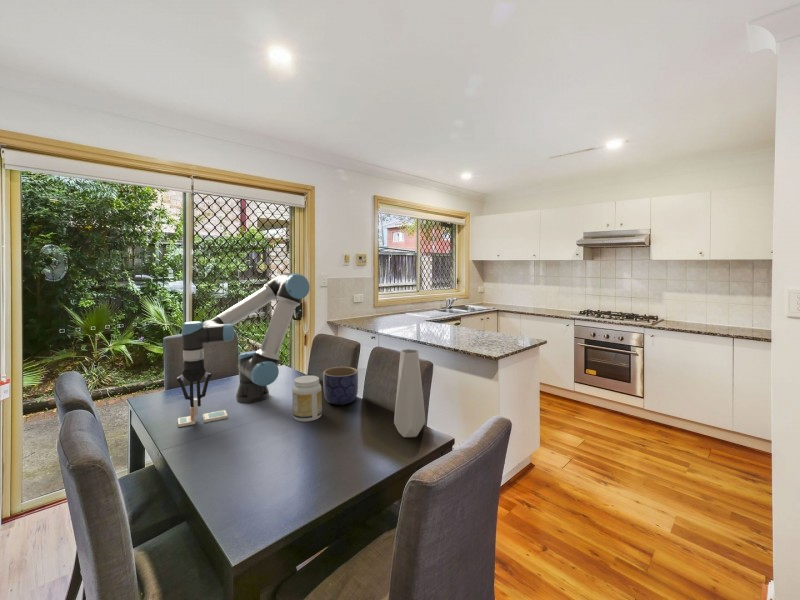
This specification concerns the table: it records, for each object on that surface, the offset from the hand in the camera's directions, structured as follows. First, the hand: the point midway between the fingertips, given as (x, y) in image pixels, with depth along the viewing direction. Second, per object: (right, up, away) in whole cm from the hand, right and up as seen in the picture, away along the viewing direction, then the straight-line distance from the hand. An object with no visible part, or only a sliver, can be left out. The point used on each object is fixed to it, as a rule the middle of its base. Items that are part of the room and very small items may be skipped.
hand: (195, 414), depth 157 cm
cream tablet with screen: (+6, -3, +4) cm, 8 cm away
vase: (+89, -5, -11) cm, 90 cm away
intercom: (-3, -3, -2) cm, 5 cm away
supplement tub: (+46, -3, +5) cm, 46 cm away
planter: (+57, -1, +24) cm, 62 cm away
